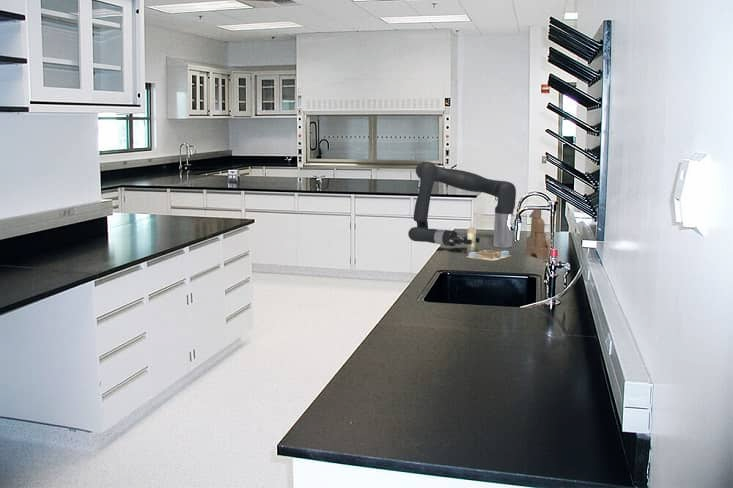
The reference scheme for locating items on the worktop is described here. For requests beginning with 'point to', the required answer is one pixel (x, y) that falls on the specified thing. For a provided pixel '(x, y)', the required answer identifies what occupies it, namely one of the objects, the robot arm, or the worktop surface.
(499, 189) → the robot arm
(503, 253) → the wing piece
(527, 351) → the worktop surface
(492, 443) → the worktop surface
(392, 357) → the worktop surface
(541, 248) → the wooden toy
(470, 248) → the fuselage dowel
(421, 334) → the worktop surface
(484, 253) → the jig
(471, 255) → the tail piece
